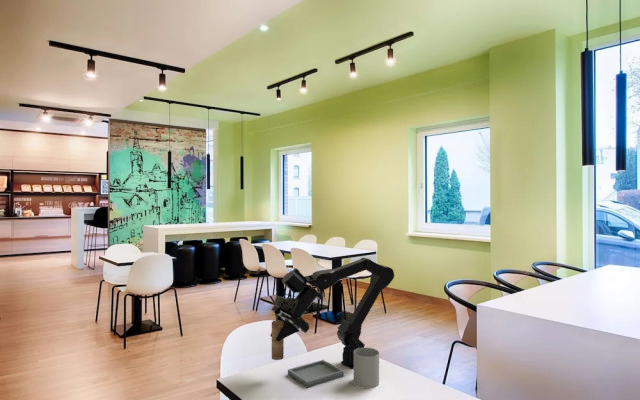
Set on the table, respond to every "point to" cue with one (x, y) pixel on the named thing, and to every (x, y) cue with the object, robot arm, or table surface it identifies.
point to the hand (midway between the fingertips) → (273, 338)
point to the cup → (366, 367)
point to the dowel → (277, 345)
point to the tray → (315, 373)
